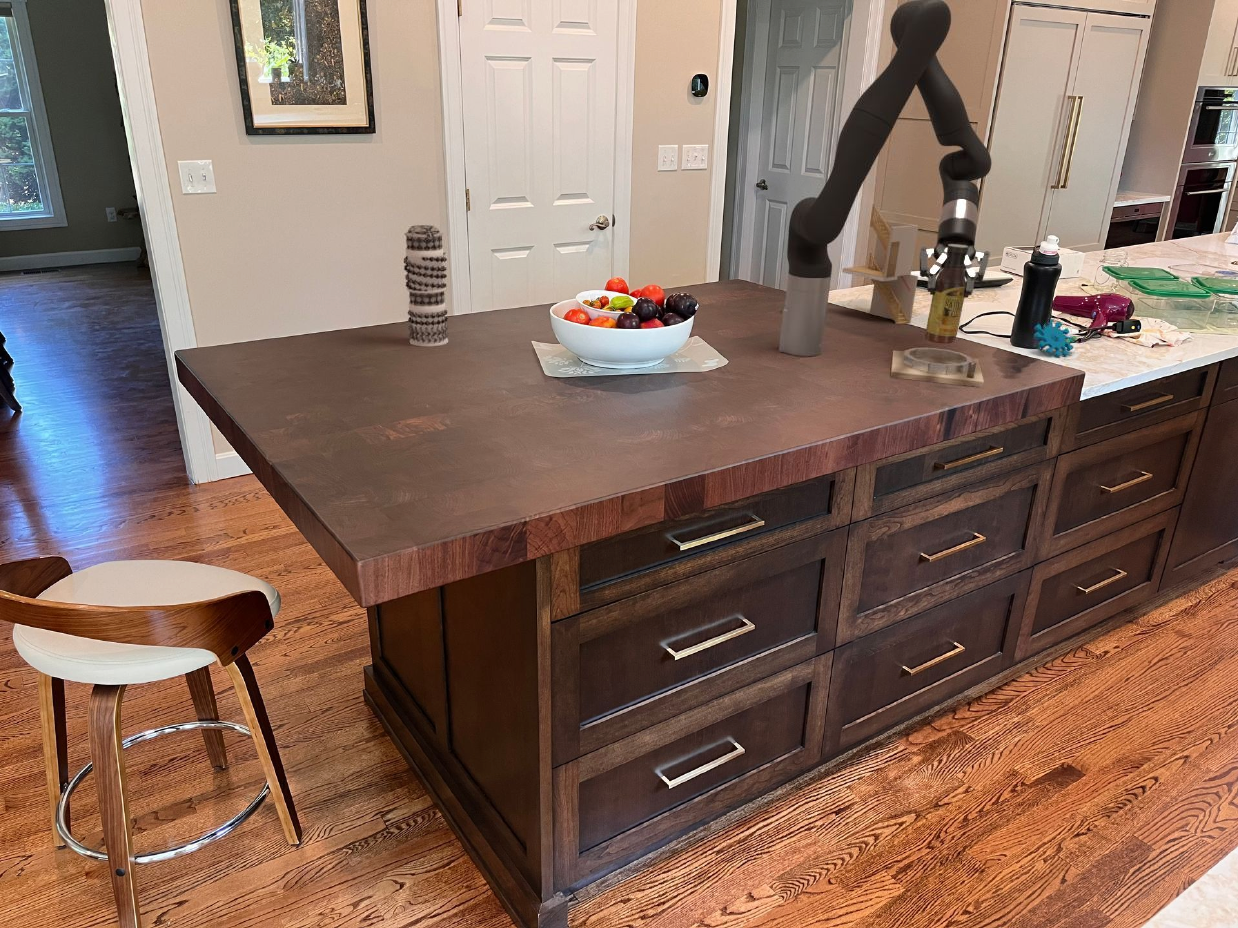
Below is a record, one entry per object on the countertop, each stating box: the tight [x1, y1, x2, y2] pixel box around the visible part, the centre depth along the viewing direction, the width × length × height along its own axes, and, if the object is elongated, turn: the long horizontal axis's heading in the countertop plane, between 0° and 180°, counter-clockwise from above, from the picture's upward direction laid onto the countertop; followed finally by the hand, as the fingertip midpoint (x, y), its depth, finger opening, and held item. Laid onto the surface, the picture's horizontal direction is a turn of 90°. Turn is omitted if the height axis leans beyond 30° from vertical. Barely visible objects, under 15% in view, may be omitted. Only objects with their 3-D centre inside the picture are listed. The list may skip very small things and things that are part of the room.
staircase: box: [841, 203, 919, 325], centre depth 228 cm, size 10×16×29 cm, turn 35°
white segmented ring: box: [903, 347, 976, 378], centre depth 188 cm, size 14×14×3 cm
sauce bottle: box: [925, 244, 968, 344], centre depth 183 cm, size 6×6×20 cm
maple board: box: [890, 350, 985, 388], centre depth 189 cm, size 18×18×1 cm
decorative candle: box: [403, 224, 449, 348], centre depth 193 cm, size 9×9×25 cm
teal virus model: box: [1033, 317, 1078, 358], centre depth 207 cm, size 11×6×10 cm
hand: (949, 294), depth 182 cm, fingers closed on sauce bottle, 6 cm apart
